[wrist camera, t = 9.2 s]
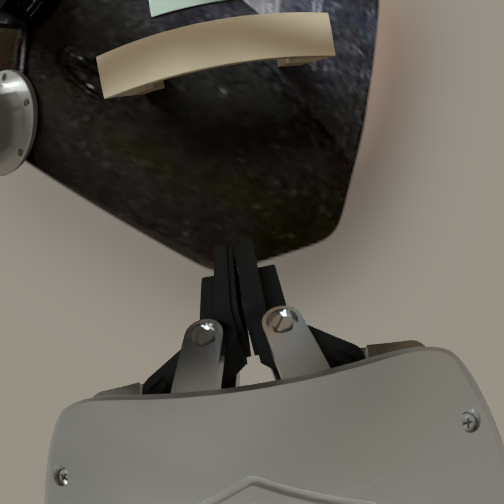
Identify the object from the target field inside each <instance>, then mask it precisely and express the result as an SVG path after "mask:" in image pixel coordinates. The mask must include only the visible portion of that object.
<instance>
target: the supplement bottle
mask: <svg viewBox="0 0 504 504" xmlns="http://www.w3.org/2000/svg"><path fill="white" fill-rule="evenodd" d="M59 1H60V0H0V28H8V29H19V30H28V29H31V28H34V27H36V26H37V25H39V24H40V23H42V22H43V21H44V20H45V19H46V18H47V17H48V16H49V15H50V14H51V13H52V12H53V11H54V9H55V8H56V6H57V5H58V3H59Z"/></svg>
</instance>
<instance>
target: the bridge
mask: <svg viewBox="0 0 504 504" xmlns="http://www.w3.org/2000/svg"><path fill="white" fill-rule="evenodd" d="M332 56H335V50H334V43H333V37H332V32H331V26H330V21H329V16H328V13H309V12H294V13H270V14H257V15H247V16H239V17H231V18H225V19H219V20H213V21H208V22H203V23H198V24H193V25H189V26H185V27H181V28H177V29H173V30H169V31H166V32H162V33H159V34H156V35H152V36H149V37H146V38H143V39H140V40H137V41H134V42H132V43H129V44H126V45H124V46H121V47H119V48H116V49H114V50H111V51H109V52H106V53H104V54H102V55H100V56H97V57H96V59H97V64H98V70H99V75H100V80H101V85H102V90H103V95H104V99H106V98H113V97H120V96H129V95H139V94H146V93H149V92H152V91H155V90H159V89H162V88H165V86H164V81H163V80H166V79H170V78H173V77H177V76H181V75H185V74H189V73H193V72H198V71H202V70H207V69H212V68H217V67H223V66H228V65H235V64H241V63H248V62H256V61H265V60H276V59H277V64H278V67H284V66H300V65H303V64H307V63H310V62H313V61H317V60H321V59H324V58H328V57H332Z"/></svg>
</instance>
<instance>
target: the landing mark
mask: <svg viewBox="0 0 504 504" xmlns="http://www.w3.org/2000/svg"><path fill="white" fill-rule="evenodd" d="M218 1H225V0H149V5H150V12H151V17H155V16H158V15H161V14H165V13H168V12H172V11H176V10H180V9H184V8H188V7H192V6H197V5H202V4H207V3H212V2H218Z"/></svg>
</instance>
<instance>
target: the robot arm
mask: <svg viewBox="0 0 504 504" xmlns="http://www.w3.org/2000/svg"><path fill="white" fill-rule="evenodd" d="M37 120H38V107H37V100H36V95H35V92H34V89H33V86H32V84H31V82H30V80H29V79H28V78H27V77H26V76H25V75H24V74H23V73H21V72H20V71H17V70H4V71H0V176H4V175H7V174H9V173H11V172H13V171H14V170H16V169H17V168H19V166H20V165H22V164H23V162H24V161H25V159H26V158H27V157H28V154H29V152H30V150H31V148H32V145H33V142H34V139H35V135H36V130H37ZM236 255H237V264H238V270H237V266H236V261H235V257H234V253H233V248H232V246H230V247H227V244H223V245H218V246H214V276H210V277H204V278H202V284H201V304H200V320H199V321H197V322H195V323H193V324H192V325H190V327H189V328H188V329H187V330H186V333H185V336H184V339H183V343H182V348H181V350H180V351H179V352H177V353H176V354H175V355H174V356H173V357H172V358H171V359H170V360H168V361H167V362H166V363H165V364H164V365H163V366H162V367H161V368H160V369H159V370H157V371H156V372H155V373H154V374H153V375H152V376H151V377H149V378H148V379H147V381H146V382H145V383H144V384H142V385H141V384H140V383H135V384H131V385H127V386H123V387H119V388H115V389H110V390H106V391H102V392H100V393H97V394H96V395H95V396H94V397H93V398H89V399H85V400H82V401H79V402H76V403H74V404H72V405H70V406H68V407H67V408H65V409H64V410H63V411H62V413H61V414H60V416H59V418H58V420H57V422H56V425H55V428H54V432H53V436H52V440H51V444H50V450H49V456H48V462H47V471H46V483H45V485H46V486H45V504H504V446H503V443H502V439H501V436H500V434H499V431H498V429H497V426H496V423H495V421H494V419H493V416H492V414H491V412H490V409H489V407H488V405H487V403H486V400H485V399H484V396H483V394H482V392H481V391H480V389H479V387H478V385H477V383H476V381H475V380H474V378H473V376H472V375H471V373H470V372H469V370H468V369H467V367H466V366H465V365H464V363H463V362H462V361H461V360H460V359H459V357H457V356H456V355H455V354H454V353H453V352H451V351H449V350H446V349H443V348H438V347H425V346H424V345H423V344H422V343H420V342H418V341H413V340H409V341H401V342H392V343H383V344H372V345H367V346H366V348H359V347H358V346H356V345H354V344H352V343H349V342H347V341H345V340H342V339H340V338H337V337H335V336H333V335H330V334H328V333H325V332H323V331H321V330H318V329H316V328H313V327H311V326H309V325H307V324H306V322H305V320H304V319H303V317H302V315H301V313H300V312H299V311H298V310H297V309H295V308H293V307H290V306H286V303H285V300H284V296H283V292H282V289H281V285H280V282H279V279H278V275H277V271H276V268H275V265H269V266H264V267H259V268H258V267H257V262H256V257H255V252H254V247H253V243H252V239H250V240H244V241H240V245H236ZM238 273H239V274H238ZM247 327H248V328H247ZM248 331H249V335H250V339H251V342H252V346H253V350H254V354H255V355H259V357H260V361H261V363H262V364H264V365H266V366H268V367H270V368H271V371H272V374H273V377H274V379H275V381H270V382H265V383H259V384H253V385H247V386H239V380H240V375H239V371H240V370H241V369H242V368H243V367H244V366H245V365H246V364H247V357H250V356H251V351H250V343H249V336H248Z"/></svg>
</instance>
